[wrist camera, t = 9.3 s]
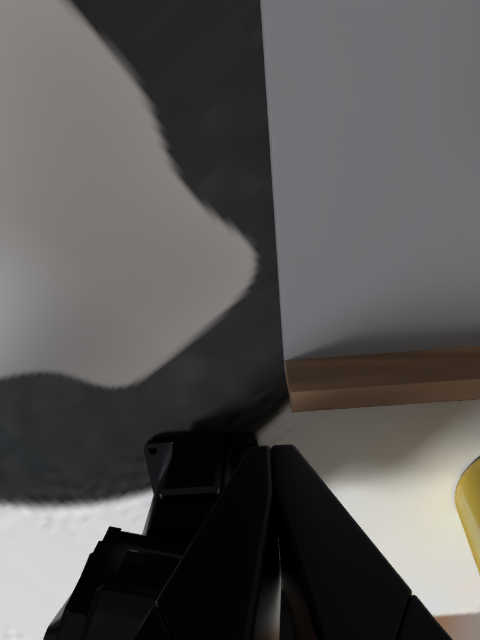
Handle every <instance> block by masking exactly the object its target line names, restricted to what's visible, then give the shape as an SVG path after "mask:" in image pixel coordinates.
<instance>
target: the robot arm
mask: <svg viewBox="0 0 480 640" xmlns="http://www.w3.org/2000/svg"><path fill="white" fill-rule="evenodd" d="M247 441H252V442H253V443H251V444H248V443H246V442H247ZM151 447H154V448H156V449H157V450H153V449H151ZM144 453H145V458H146V462H147V467H148V471H149V475H150V480H151V484H152V489H153V493H154V496H153V499H152V503H151V506H150V509H149V513H148V516H147V520H146V523H145V527H144V530H143V533H142V535H140V534H135V533H130V532H124V531H121V528H116V527H111V526H110V527H109V528H108V530H107V532H106V534H105V536H104V538H103V540H102V541H99V542H98V544H97V546H96V548H95V550H94V552H93V553H91V554H90V555H89V557H88V560H87V562H86V565H85V567H84V570H83V572H82V574H81V577H80V579H79V581H78V583H77V585H76V587H75V589H74V591H73V593H72V594H71V596H70V597H69V598H68V600H67V601H66V603H65V604H64V605H63V607H62V608H61V610H60V611H59V612H58V614H57V615H56V616H55V618H54V619H53V621H52V622H51V623H50V625H49V626H48V628H47V631H46V633H45V636H44V639H43V640H452V638H451V637H450V636H449V635H448V634H447V632H446V631H445V630H444V629H443V628H442V627H441V625H440V624H439V623H438V622H437V621H436V620H435V618H434V617H433V616H432V615H431V613H430V612H429V611H428V610H427V608H426V607H425V606H424V605H423V603H422V602H421V601H420V600H419V598H418V597H417V596H416V595H412V591H411V589H410V588H409V587H408V585H407V584H406V583H405V582H404V580H403V579H402V578H401V577H400V575H399V574H398V573H397V572H396V570H395V569H394V568H393V567H392V566H391V564H390V563H389V562H388V561H387V559H386V558H385V557H384V556H383V554H382V553H381V552H380V551H379V550H378V548H377V547H376V546H375V545H374V543H373V542H372V541H371V540H370V538H369V537H368V536H367V535H366V534H365V532H364V531H363V530H362V529H361V527H360V526H359V525H358V524H357V522H356V521H355V520H354V519H353V518H352V516H351V515H350V514H349V513H348V511H347V510H346V509H345V508H344V506H343V505H342V504H341V503H340V502H339V500H338V499H337V498H336V497H335V495H334V494H333V493H332V492H331V490H330V489H329V488H328V487H327V485H326V484H325V483H324V482H323V481H322V479H321V478H320V477H319V476H318V474H317V473H316V472H315V471H314V469H313V468H312V467H311V466H310V465H309V463H308V462H307V461H306V460H305V458H304V457H303V456H302V455H301V453H300V452H299V451H298V450H297V449H296V447H295V446H294V445H291V444H287V445H274V446H273V447H272V448H270V447H269V446H259V442H258V437H257V436H256V435H255V434H253V433H237V434H222V435H219V434H216V435H201V436H186V437H177V438H163V439H151V440H149V441H147V443H146V445H145V448H144ZM271 454H272V456H271ZM278 540H279V541H278ZM279 551H280V554H279Z"/></svg>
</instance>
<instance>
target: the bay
mask: <svg viewBox="0 0 480 640" xmlns="http://www.w3.org/2000/svg"><path fill="white" fill-rule="evenodd" d="M260 3H261V19H262V34H263V49H264V64H265V80H266V95H267V110H268V125H269V141H270V156H271V171H272V186H273V202H274V217H275V232H276V247H277V262H278V278H279V293H280V308H281V323H282V339H283V354H284V369H285V375H286V381H287V387H288V393H289V399H290V405H291V410H292V412H302V411H316V410H331V409H345V408H359V407H374V406H388V405H402V404H417V403H431V402H445V401H460V400H474V399H480V0H260Z"/></svg>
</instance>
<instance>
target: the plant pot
mask: <svg viewBox="0 0 480 640" xmlns="http://www.w3.org/2000/svg"><path fill="white" fill-rule="evenodd" d="M455 504H456V509H457V511H458V514H459V517H460V520H461V523H462V525H463V528H464V531H465V534H466V537H467V540H468V543H469V545H470V548H471V551H472V554H473V557H474V560H475V563H476V565H477V568H478V571H479V574H480V458H479V459H477V460H476V461H475V462H473V463H472V464H471V465H470V466H469V467H468V468H467V470H466V471H465V472H464V473H463V475H462V476H461V478H460V480H459V482H458V484H457V487H456V491H455Z"/></svg>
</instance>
